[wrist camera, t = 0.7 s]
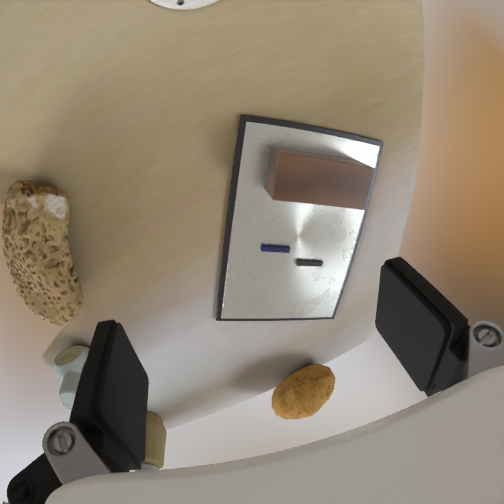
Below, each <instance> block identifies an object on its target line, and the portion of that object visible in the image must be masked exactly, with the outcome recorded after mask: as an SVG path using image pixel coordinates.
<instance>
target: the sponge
mask: <svg viewBox="0 0 504 504" xmlns="http://www.w3.org/2000/svg"><path fill="white" fill-rule="evenodd" d="M69 221H70V206H69V201H68V196H67V195H66V192H65V191H64V190H61V189H57V191H56V190H55V189H53V188H51V187H49V186H48V187H42V186H40V187H38V186H37V185H36V184H35V183H34V182H32V181H22V180H19V181H16V182H15V183H13V184H12V185H11V186H10V188H9V190H8V192H7V198H6V201H5V207H4V212H3V227H2V231H3V240H4V245H3V251H4V255H5V259H6V263H7V266H8V268H11V272H10V274H11V278H12V279H14V285H15V287H16V291H17V293H18V295H19V297H20V298H21V299H22V300H23V301H24V302H25V303H26V305H27V306H28V307H29V309H31V310H32V312H33V313H34V314H35V315H39V316H41V317H42V318H43V319H44V320H47V321H49V322H51V323H53V324H57V325H64V323H65V322H66V321H68V320H71V319H73V318H75V317H76V316H77V315H78V313H79V312H80V309H81V308H82V306H83V305H82V302H83V295H82V291H81V286H80V283H79V278H78V276H77V271H76V269H75V266H74V263H73V261H72V255H71V251H70V248H69V241H68V230H67V229H68V227H69Z"/></svg>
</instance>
